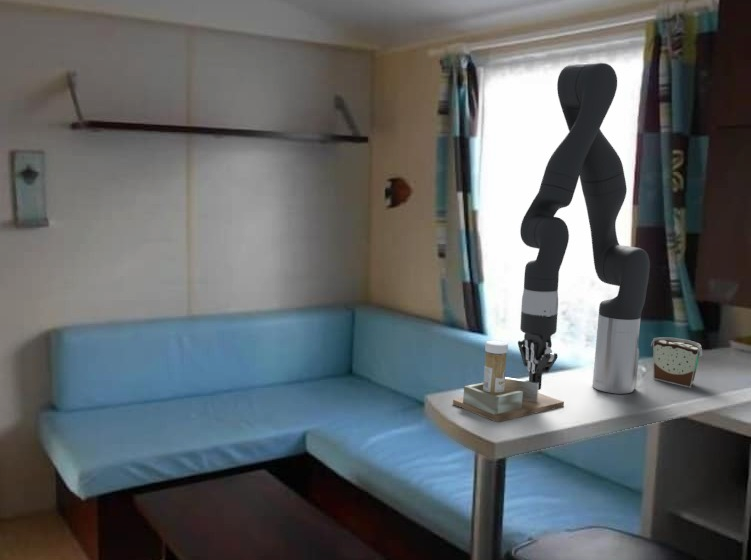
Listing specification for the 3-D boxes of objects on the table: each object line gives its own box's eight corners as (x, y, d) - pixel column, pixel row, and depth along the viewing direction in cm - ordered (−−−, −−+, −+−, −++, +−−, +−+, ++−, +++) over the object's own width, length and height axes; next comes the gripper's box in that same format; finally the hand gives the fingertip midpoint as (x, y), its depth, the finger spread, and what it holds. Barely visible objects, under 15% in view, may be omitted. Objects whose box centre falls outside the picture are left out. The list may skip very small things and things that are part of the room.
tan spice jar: (504, 409, 161) (509, 345, 159) (482, 408, 161) (486, 344, 159) (502, 402, 165) (506, 340, 163) (480, 401, 166) (484, 338, 163)
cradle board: (518, 390, 178) (519, 371, 177) (563, 406, 168) (565, 385, 167) (453, 404, 166) (454, 383, 165) (497, 422, 156) (498, 400, 155)
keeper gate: (485, 394, 170) (486, 376, 169) (487, 392, 171) (489, 374, 171) (536, 402, 166) (537, 383, 165) (537, 399, 167) (539, 381, 167)
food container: (707, 384, 189) (712, 344, 188) (696, 389, 185) (701, 347, 184) (659, 373, 198) (663, 334, 196) (647, 377, 194) (651, 337, 192)
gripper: (508, 304, 171) (504, 381, 174) (540, 317, 159) (535, 400, 161) (538, 303, 173) (534, 379, 176) (572, 315, 161) (566, 397, 164)
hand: (534, 389), depth 169 cm, fingers closed
